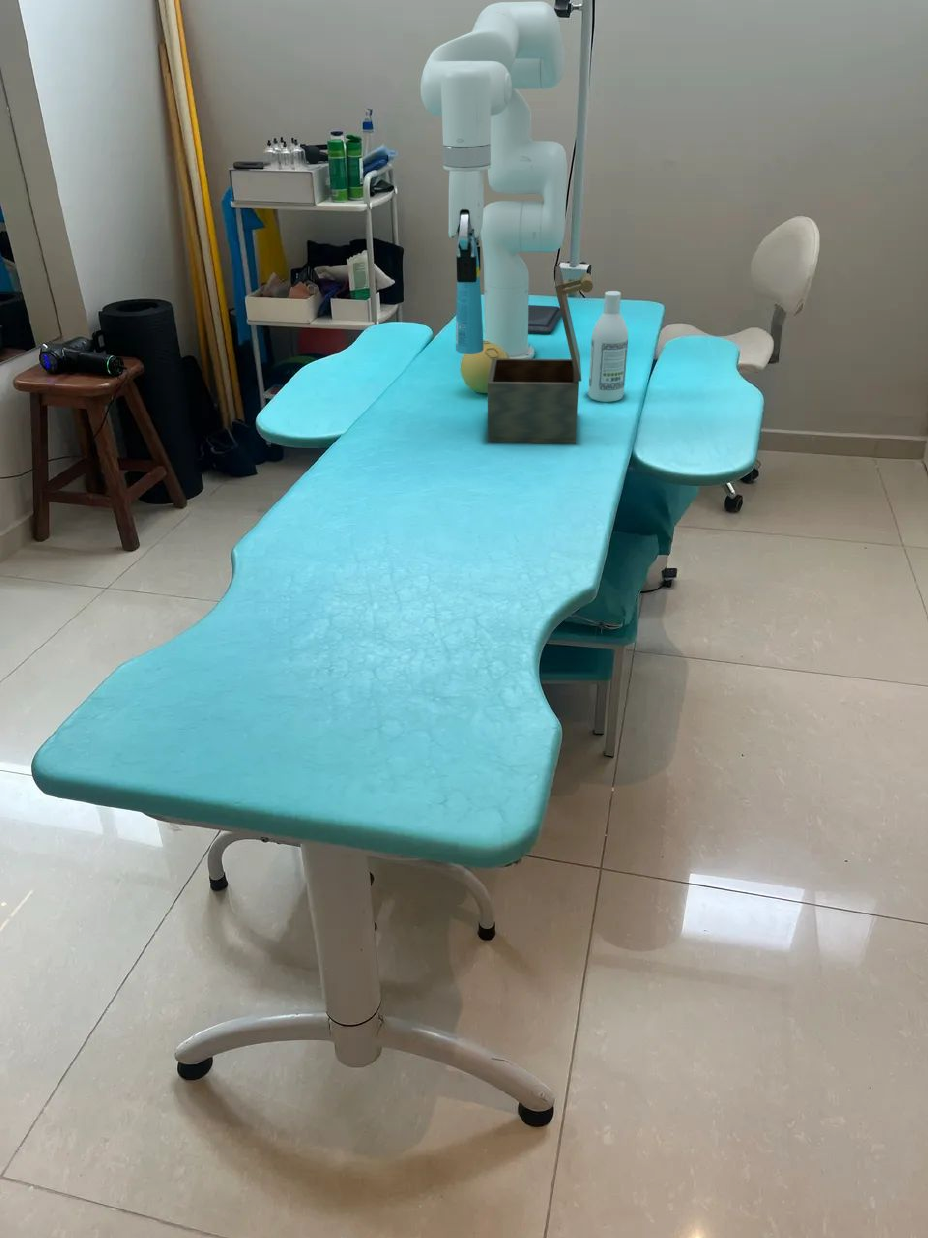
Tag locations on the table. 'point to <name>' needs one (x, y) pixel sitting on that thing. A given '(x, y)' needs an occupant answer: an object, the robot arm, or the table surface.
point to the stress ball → (480, 366)
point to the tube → (469, 315)
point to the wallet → (542, 318)
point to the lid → (561, 292)
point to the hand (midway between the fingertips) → (469, 275)
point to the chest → (532, 401)
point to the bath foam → (608, 352)
